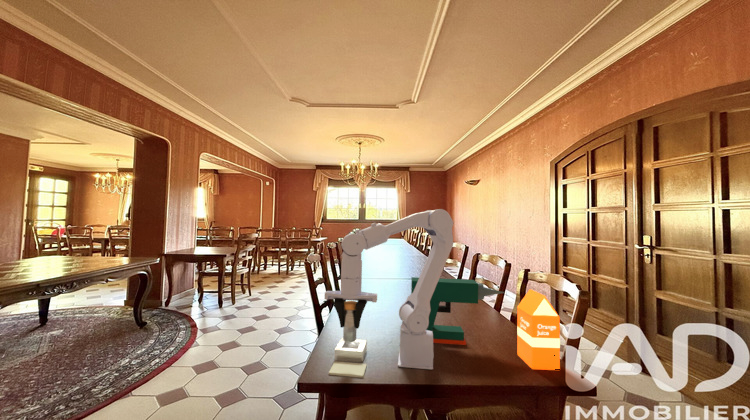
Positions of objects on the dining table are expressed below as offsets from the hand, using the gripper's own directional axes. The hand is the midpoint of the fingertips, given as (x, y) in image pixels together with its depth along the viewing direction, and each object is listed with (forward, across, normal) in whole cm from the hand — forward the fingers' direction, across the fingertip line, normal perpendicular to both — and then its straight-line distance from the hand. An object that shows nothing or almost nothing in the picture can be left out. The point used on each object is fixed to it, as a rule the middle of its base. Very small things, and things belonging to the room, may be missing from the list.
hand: (350, 326), depth 79 cm
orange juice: (+11, -53, -12) cm, 55 cm away
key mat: (+10, 0, +2) cm, 11 cm away
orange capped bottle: (+3, 0, 0) cm, 3 cm away
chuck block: (+10, +1, -6) cm, 12 cm away
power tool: (+11, -32, -23) cm, 41 cm away
